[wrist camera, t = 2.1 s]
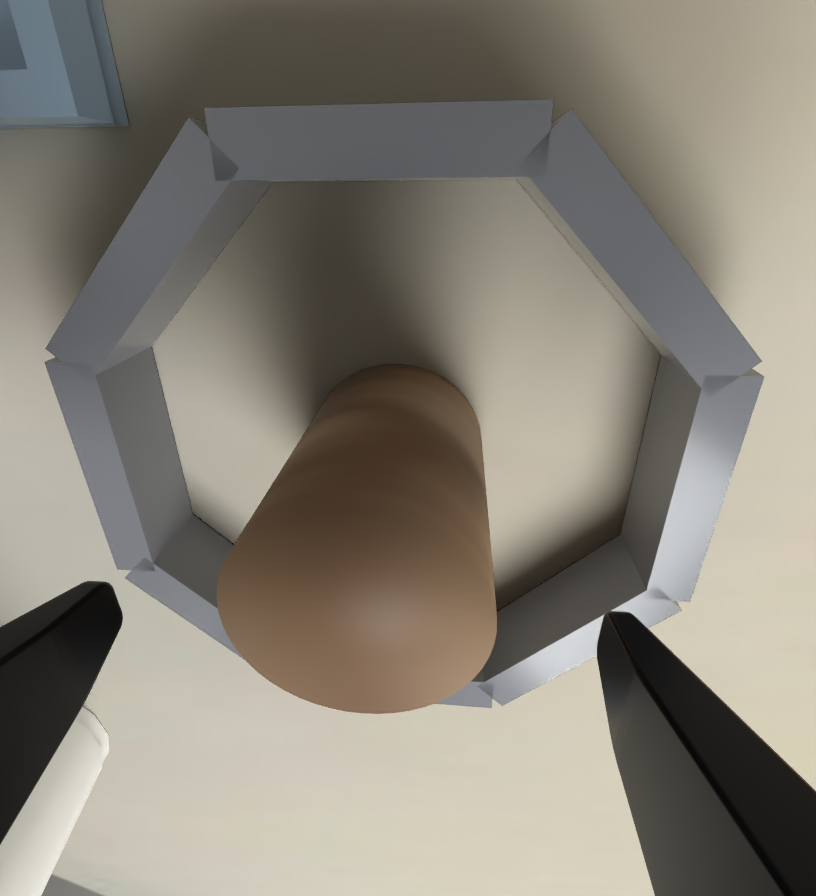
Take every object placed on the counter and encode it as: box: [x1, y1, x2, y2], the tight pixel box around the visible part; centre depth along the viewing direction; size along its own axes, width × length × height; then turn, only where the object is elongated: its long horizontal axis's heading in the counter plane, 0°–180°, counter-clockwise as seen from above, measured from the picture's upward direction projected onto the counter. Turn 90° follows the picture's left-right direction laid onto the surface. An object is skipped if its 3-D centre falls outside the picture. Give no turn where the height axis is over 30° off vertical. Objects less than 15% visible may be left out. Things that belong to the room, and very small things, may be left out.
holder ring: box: [45, 99, 764, 708], centre depth 14 cm, size 16×16×2 cm
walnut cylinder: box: [217, 364, 497, 714], centre depth 12 cm, size 5×5×7 cm
